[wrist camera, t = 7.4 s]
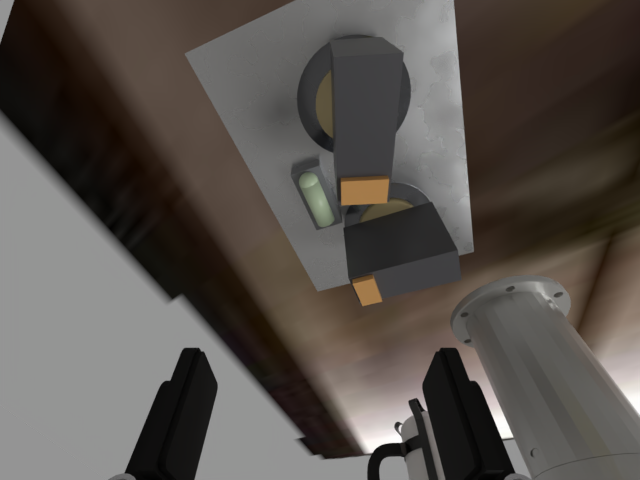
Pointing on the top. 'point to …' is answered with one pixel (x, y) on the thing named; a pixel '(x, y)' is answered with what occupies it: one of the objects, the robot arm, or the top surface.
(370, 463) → the coffee press
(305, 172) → the bubble vial
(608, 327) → the top surface
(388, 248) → the knob
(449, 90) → the levelling plate
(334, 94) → the knob
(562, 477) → the robot arm
